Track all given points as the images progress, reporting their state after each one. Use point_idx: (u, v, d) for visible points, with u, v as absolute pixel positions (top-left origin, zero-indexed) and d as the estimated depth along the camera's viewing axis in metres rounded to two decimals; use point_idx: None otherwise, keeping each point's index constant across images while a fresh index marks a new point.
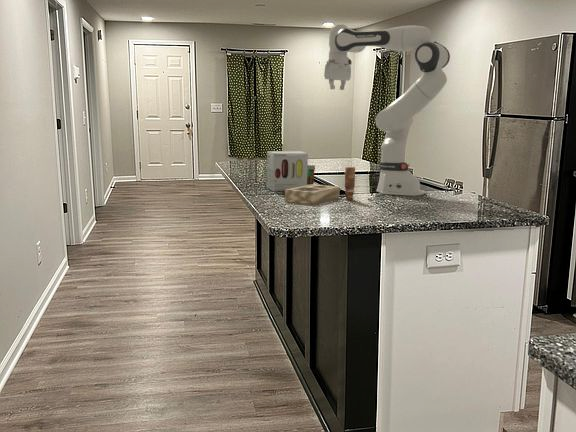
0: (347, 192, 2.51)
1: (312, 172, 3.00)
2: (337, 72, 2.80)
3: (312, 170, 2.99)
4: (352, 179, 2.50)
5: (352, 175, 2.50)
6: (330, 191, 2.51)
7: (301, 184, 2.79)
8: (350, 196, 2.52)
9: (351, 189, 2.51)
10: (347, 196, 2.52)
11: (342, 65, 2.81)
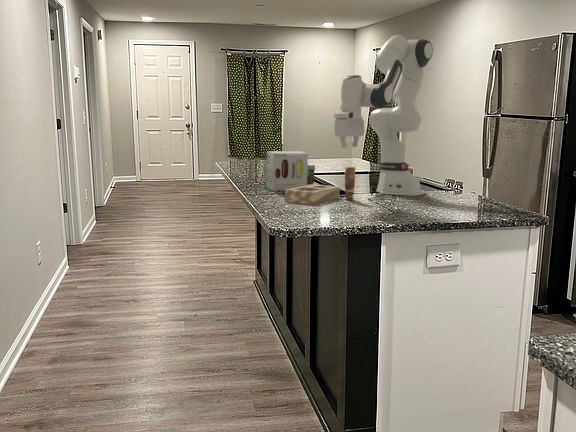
0: (347, 192, 2.51)
1: (312, 172, 3.00)
2: None
3: (312, 170, 2.99)
4: (352, 179, 2.50)
5: (352, 175, 2.50)
6: (330, 191, 2.51)
7: (301, 184, 2.79)
8: (350, 196, 2.52)
9: (351, 189, 2.51)
10: (347, 196, 2.52)
11: None
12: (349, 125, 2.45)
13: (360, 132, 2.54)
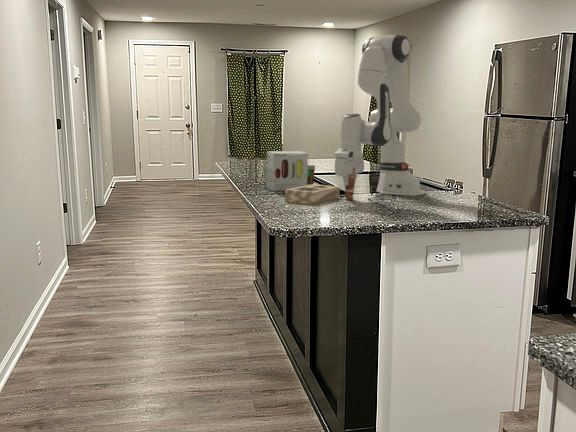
0: (347, 192, 2.51)
1: (312, 172, 3.00)
2: None
3: (312, 170, 2.99)
4: (352, 179, 2.50)
5: (352, 175, 2.50)
6: (330, 191, 2.51)
7: (301, 184, 2.79)
8: (350, 196, 2.52)
9: (351, 189, 2.51)
10: (347, 196, 2.52)
11: None
12: (349, 164, 2.47)
13: (360, 169, 2.55)
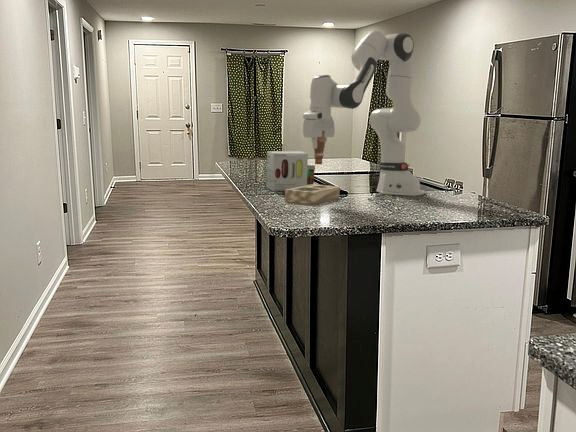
0: (316, 156, 2.45)
1: (312, 172, 3.00)
2: None
3: (312, 170, 2.99)
4: (321, 142, 2.44)
5: (321, 138, 2.43)
6: (330, 191, 2.51)
7: (301, 184, 2.79)
8: (319, 160, 2.45)
9: (320, 153, 2.44)
10: (316, 160, 2.46)
11: None
12: (318, 126, 2.41)
13: (330, 133, 2.49)
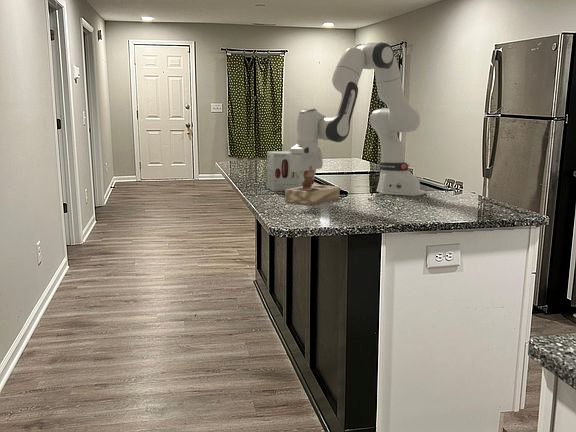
0: None
1: None
2: None
3: None
4: (309, 178, 2.45)
5: (309, 173, 2.45)
6: (330, 191, 2.51)
7: (301, 184, 2.79)
8: None
9: (308, 188, 2.46)
10: None
11: None
12: (306, 160, 2.42)
13: (318, 165, 2.51)
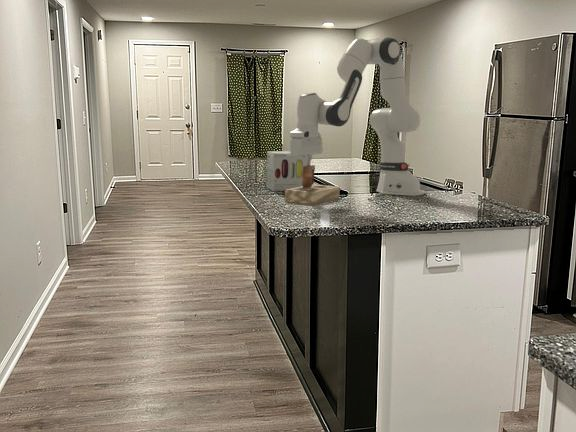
0: None
1: (312, 172, 3.00)
2: None
3: (312, 170, 2.99)
4: (309, 178, 2.45)
5: (309, 174, 2.45)
6: (330, 191, 2.51)
7: (301, 184, 2.79)
8: None
9: (308, 188, 2.46)
10: None
11: None
12: (305, 144, 2.41)
13: (318, 150, 2.49)
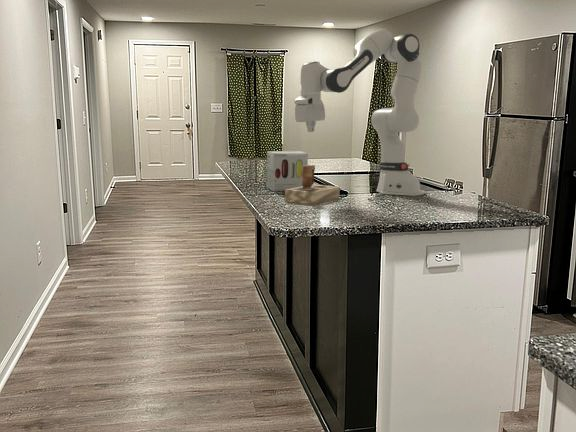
0: None
1: (312, 172, 3.00)
2: None
3: (312, 170, 2.99)
4: (309, 177, 2.46)
5: (309, 173, 2.45)
6: (330, 191, 2.51)
7: (301, 184, 2.79)
8: None
9: (308, 188, 2.47)
10: None
11: None
12: (309, 111, 2.53)
13: (321, 117, 2.62)
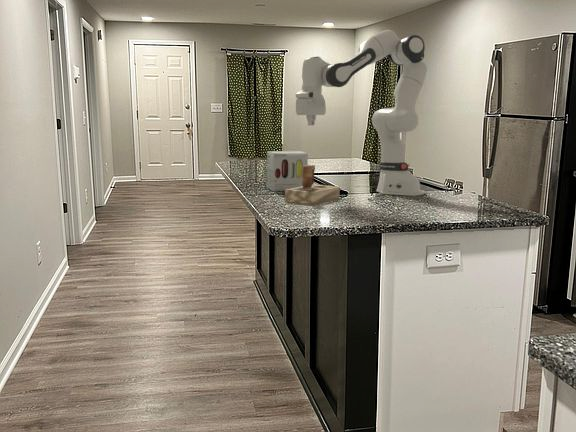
0: None
1: (312, 172, 3.00)
2: None
3: (312, 170, 2.99)
4: (309, 178, 2.45)
5: (309, 174, 2.45)
6: (330, 191, 2.51)
7: (301, 184, 2.79)
8: None
9: (308, 188, 2.46)
10: None
11: None
12: (310, 105, 2.59)
13: (322, 111, 2.67)
